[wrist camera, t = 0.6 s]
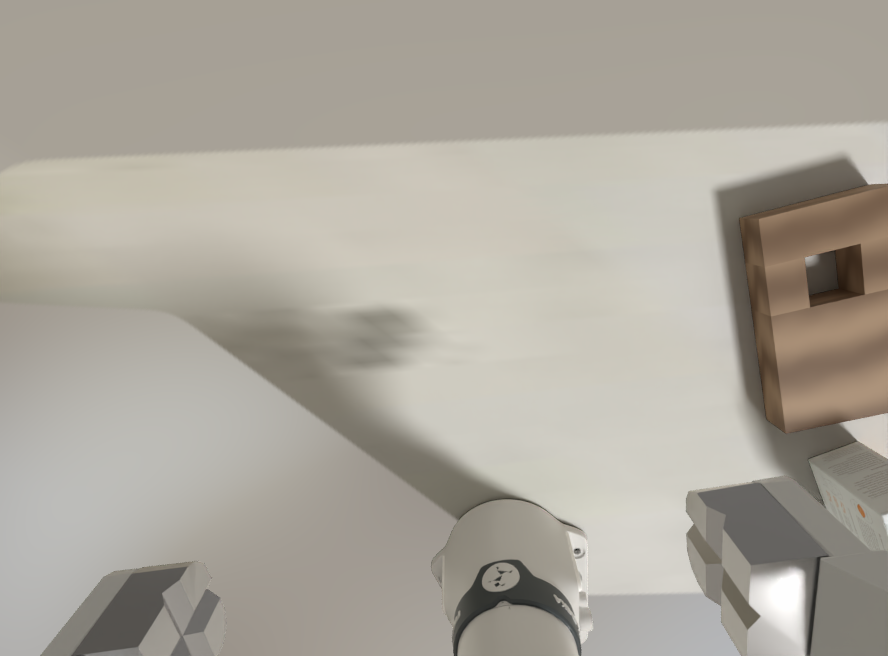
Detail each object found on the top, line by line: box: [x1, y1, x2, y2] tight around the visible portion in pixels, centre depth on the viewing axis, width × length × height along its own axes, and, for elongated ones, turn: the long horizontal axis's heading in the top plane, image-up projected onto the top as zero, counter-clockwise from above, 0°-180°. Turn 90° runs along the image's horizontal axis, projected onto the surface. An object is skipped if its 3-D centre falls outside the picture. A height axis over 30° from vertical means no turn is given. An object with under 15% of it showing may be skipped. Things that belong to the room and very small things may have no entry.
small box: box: [808, 441, 888, 552], centre depth 50 cm, size 8×6×10 cm
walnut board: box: [739, 184, 888, 434], centre depth 49 cm, size 22×12×4 cm, turn 15°
